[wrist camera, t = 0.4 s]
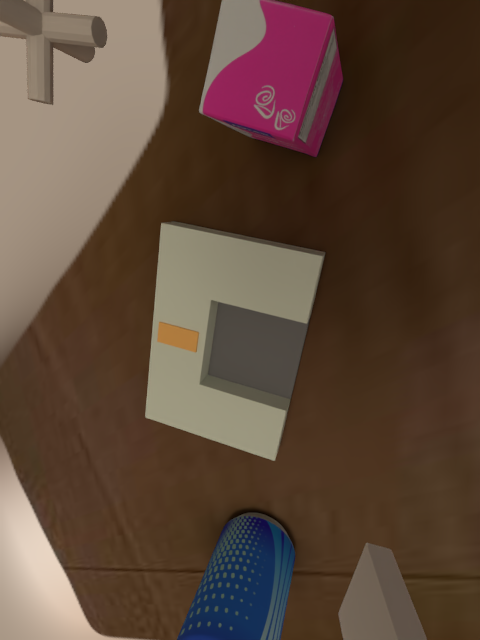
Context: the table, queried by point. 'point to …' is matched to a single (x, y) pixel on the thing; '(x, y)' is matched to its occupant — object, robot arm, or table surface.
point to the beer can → (243, 583)
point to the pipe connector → (49, 39)
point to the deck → (228, 334)
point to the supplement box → (274, 73)
